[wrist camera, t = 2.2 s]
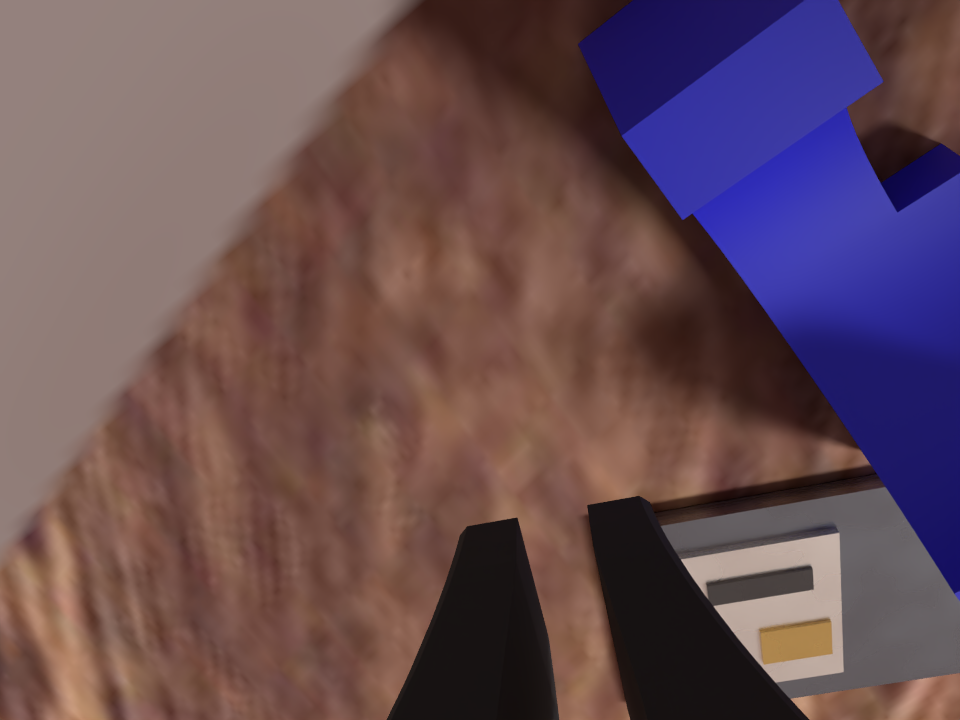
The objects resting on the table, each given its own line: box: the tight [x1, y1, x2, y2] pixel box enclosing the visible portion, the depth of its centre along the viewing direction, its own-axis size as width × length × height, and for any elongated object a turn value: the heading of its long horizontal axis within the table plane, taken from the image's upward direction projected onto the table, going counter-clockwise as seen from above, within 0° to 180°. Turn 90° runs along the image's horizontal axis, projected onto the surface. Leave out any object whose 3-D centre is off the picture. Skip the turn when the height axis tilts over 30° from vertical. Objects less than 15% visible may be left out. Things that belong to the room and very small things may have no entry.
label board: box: [654, 474, 960, 699], centre depth 23 cm, size 15×7×1 cm, turn 103°
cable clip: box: [578, 0, 960, 601], centre depth 16 cm, size 12×4×6 cm, turn 38°
